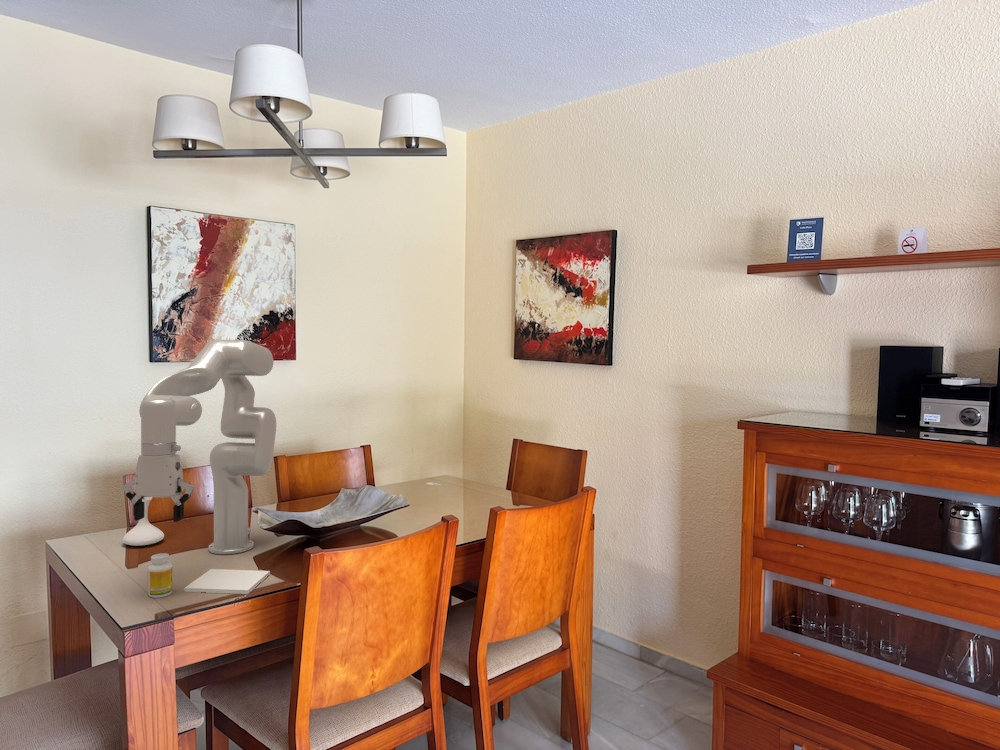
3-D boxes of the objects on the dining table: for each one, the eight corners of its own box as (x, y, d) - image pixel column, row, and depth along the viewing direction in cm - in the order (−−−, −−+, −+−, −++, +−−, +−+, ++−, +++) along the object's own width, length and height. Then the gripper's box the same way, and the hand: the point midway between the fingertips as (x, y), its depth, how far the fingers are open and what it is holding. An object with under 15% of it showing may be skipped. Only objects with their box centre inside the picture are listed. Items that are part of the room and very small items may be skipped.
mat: (211, 572, 184) (211, 569, 184) (269, 574, 183) (269, 571, 183) (184, 591, 170) (184, 587, 170) (247, 594, 169) (247, 590, 169)
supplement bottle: (144, 594, 168) (144, 555, 168) (167, 588, 172) (166, 550, 172) (153, 600, 164) (152, 560, 164) (176, 594, 168) (175, 555, 168)
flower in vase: (146, 550, 202) (145, 465, 201) (113, 547, 204) (112, 463, 203) (176, 537, 215) (175, 458, 213) (144, 535, 217) (143, 456, 216)
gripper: (201, 448, 170) (201, 517, 170) (132, 446, 170) (133, 515, 171) (185, 452, 162) (185, 525, 163) (114, 451, 163) (114, 522, 164)
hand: (158, 519), depth 167 cm, fingers open, 9 cm apart
